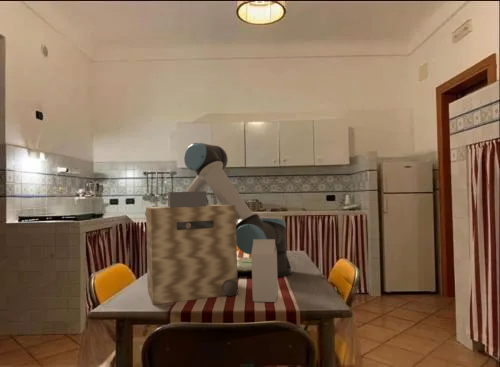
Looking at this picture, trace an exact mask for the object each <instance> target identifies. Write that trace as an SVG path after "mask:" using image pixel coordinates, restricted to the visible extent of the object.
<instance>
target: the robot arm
mask: <svg viewBox="0 0 500 367" xmlns="http://www.w3.org/2000/svg"><path fill="white" fill-rule="evenodd" d="M183 159H184V165H185V167H186V168H187V169H189V170H190V171H195V173H196V174H197V175H196V177H195V178H194V179H193V181H192V182H191V184H189V186H188V187H187V188H186V190H185V191H184V192H199V191H206V192H207V190H208V189H210V190H211V191H212V192H213V194H214V196H215V197H216V199H217V200H218V202H219V204H220V205H235V206H236V243H237V248H238V250H240V251H241V252H242V253H244V254H246V255H251V253H252V247H253V239H275V245H276V249H277V277H279V278H281V277H285V276H289V275H291V274H292V265H291V263H290V261H289V257H288V255H287V254H288V251H287V226H286V225H287V224H286V221H285V220H284V219H282V218H271V217H270V218H268V217H263V218H261V217H260V215H259V214H257V213H255V212H252V211H251V209H250V208H249V207H248V205H247V203H246V202H245V201H244V198H243V197H242V196H241V195H240V193H239V191H238V190H237V189H236V187H235V185H234V184H233V182H232V181H231V179H230V178H229V177H228V175H227V174H226V173H225V170H226V168H227V165H228V154H227V152H226V150H224V148H222V147H221V146H219V145H213V144H209V143H208V144H207V143H203V142H194V143H192V144H190V145H188V147H187V148H186V150H185V153H184V156H183ZM151 207H160V206H159V205H158V200H154V205H152V206H151ZM144 215H145V216H146V211H145V213H144Z"/></svg>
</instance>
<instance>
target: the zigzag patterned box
mask: <svg viewBox="0 0 500 367" xmlns="http://www.w3.org/2000/svg"><path fill="white" fill-rule="evenodd" d="M206 205H207V206H202V207H176V208H169V207H168V206H159V207H152V206H148V207H147V206H146V207H145V212H146V215H145V218H146V219H145V223H146V224H145V225H146V273H147V274H146V276H147V278H146V279H147V280H146V281H147V293H148V295H149V298H150V301H151V303H152V305H159V304H160V305H162V304H168V303H177V302H182V301H183V302H185V301H192V300H199V299H200V300H201V299H207V298H208V299H209V298H216V297H222V296H228V297H233V296H235V295H238V294H239V285H238V284H239V283H238V282H239V281H238V254H237V253H238V250H237V248H238V247H237V243H236V206H235V205H221V204H206Z"/></svg>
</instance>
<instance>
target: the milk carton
mask: <svg viewBox="0 0 500 367" xmlns="http://www.w3.org/2000/svg"><path fill="white" fill-rule="evenodd" d="M250 256H251V283H252V285H251V287H252V290H251V291H252V292H251V293H252V302H259V303H260V302H263V303H275V302H276V301H277V299H278V297H279V284H278V282H279V280H278V277H277V249H276V245H275V239H253V247H252V253H251V254H250Z"/></svg>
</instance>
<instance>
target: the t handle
mask: <svg viewBox="0 0 500 367" xmlns="http://www.w3.org/2000/svg"><path fill="white" fill-rule="evenodd" d="M207 205H208V204H207V190H206V191H199V192H185V191H168V192H167V207H169V208H176V207H202V206H207Z"/></svg>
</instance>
